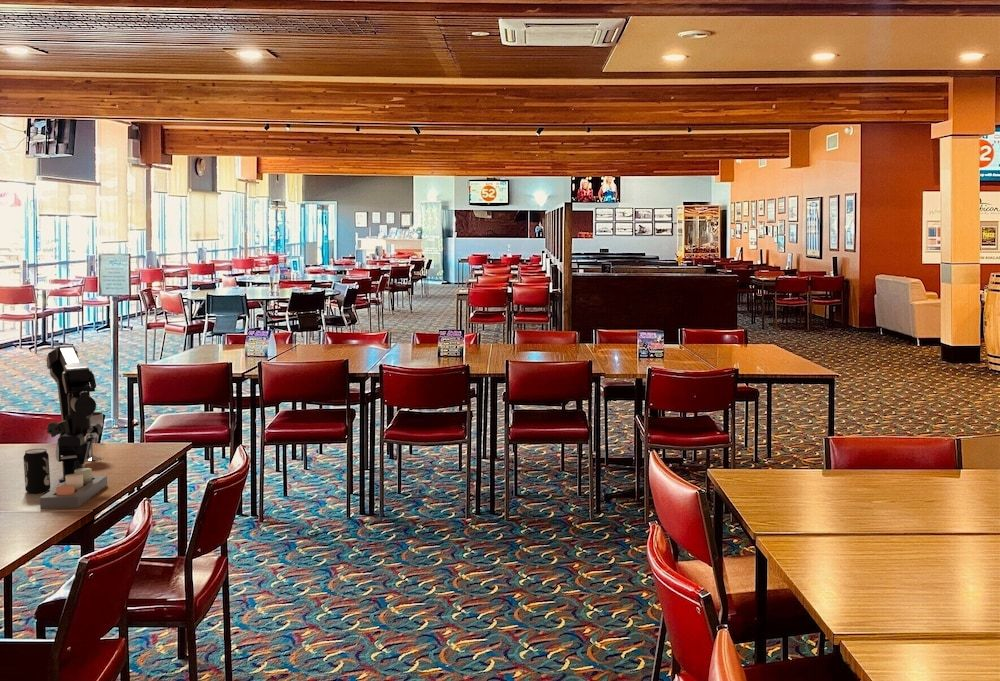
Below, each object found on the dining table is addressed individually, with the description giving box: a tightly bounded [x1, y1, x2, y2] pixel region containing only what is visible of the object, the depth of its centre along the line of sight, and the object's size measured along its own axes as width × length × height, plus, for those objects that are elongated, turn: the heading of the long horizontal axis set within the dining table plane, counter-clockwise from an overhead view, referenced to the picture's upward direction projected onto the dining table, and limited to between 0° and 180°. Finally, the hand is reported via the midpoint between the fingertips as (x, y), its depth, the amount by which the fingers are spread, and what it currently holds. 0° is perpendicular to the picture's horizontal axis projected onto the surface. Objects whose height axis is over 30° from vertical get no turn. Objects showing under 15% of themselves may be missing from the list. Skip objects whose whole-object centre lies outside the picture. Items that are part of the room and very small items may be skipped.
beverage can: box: [22, 447, 51, 495], centre depth 297 cm, size 7×7×12 cm
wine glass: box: [85, 411, 104, 462], centre depth 338 cm, size 8×8×15 cm
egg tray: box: [39, 475, 108, 509], centre depth 291 cm, size 24×10×3 cm, turn 3°
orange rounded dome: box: [55, 485, 75, 495], centre depth 284 cm, size 5×5×4 cm
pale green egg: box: [74, 467, 93, 482], centre depth 297 cm, size 5×5×4 cm
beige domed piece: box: [65, 474, 84, 489], centre depth 290 cm, size 5×5×4 cm
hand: (82, 464), depth 297 cm, fingers closed
